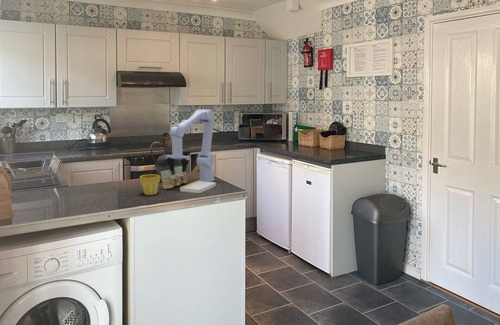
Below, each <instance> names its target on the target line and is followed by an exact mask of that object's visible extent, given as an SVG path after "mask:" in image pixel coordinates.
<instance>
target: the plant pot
mask: <svg viewBox="0 0 500 325" xmlns="http://www.w3.org/2000/svg"><path fill="white" fill-rule="evenodd" d="M160 179H161V176H160V175H159V174H143V175H140V176H139V182H140V184H141V186H142V190H143V193H144V195H145V196H153V195H156V194H157V193H158V189H159V183H160V182H161V180H160Z"/></svg>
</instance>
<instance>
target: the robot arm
mask: <svg viewBox="0 0 500 325" xmlns="http://www.w3.org/2000/svg"><path fill="white" fill-rule="evenodd" d="M214 120H215V113H214V111H213V110H212V109H210V108H209V109H202V108H201V109H200V108H198V109H197V110H194V113H193V114H192V115H191V116H190V117H189V118H188V119H182V120H181V122H179V123H177V124H176V126H172V127H171V128H170V129H169V132H168V134H169V136H171V139H172V155H166V159H167V160H166V161H167V163H168V164H169V167H170V170H171V172H172V171H174V160H175V159H180V161H181V165H182V173H184V172H186V169H187V166H188V163H189V161H190V160H191V159H190V158H191V157H190V156H189V155H183V152H184V151H183V137H184V136H185V133H186V132H187V131H188V130H190V129H191V127H192V124H195V123H196V122H197V121H199V122H201V123H202V124H203V134H202V143H201V144H202V145H201V150H200V151H199V152H198V154H197V158H196V165H197V166H198V169H199V171H198V173H199V180H197V181H204V182H214V181H216V179H215V177H214V176H215V174H214V173H215V172H214V171H215V170H214V168H213V166H214V164H215V159H214V154H213V153H212V152H211V150H212V140H213V132H214Z"/></svg>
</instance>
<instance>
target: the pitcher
mask: <svg viewBox="0 0 500 325" xmlns="http://www.w3.org/2000/svg"><path fill="white" fill-rule="evenodd" d="M160 138H161V140H162V141H153V142H152V143H151V144H150V146H149V151H150V154H151V157H152V159H153V161H154V163H155V164H154V167H153V170H152V172H154V170H156V172H157V175H159V176H160V178H162V176H161V171H165V170H170V167H169V164H168V163H167V161H166V160H167V159H166V155H172V139H171V136H170V134H169V132H164V133H162V135H161V136H160ZM155 145H160V146H162V147H163V154H161V155H159V157H158V158H155V156H154V153H153V147H154V146H155ZM179 166H182V164H181V159H175V160H174V168H175V167H179ZM170 171H171V170H170ZM171 175H175V169H174V171H172V172H171Z"/></svg>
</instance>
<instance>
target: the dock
mask: <svg viewBox="0 0 500 325" xmlns="http://www.w3.org/2000/svg"><path fill="white" fill-rule="evenodd" d="M216 186H217V182H214V181H211V182H204V181H198V180H196V181H194V182H190V183H188V184H186V185H183V186H180V187H179V191H180V192H183V193H192V194H201V193H203V192H206V191H208V190H210V189H213V188H214V187H216Z"/></svg>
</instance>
